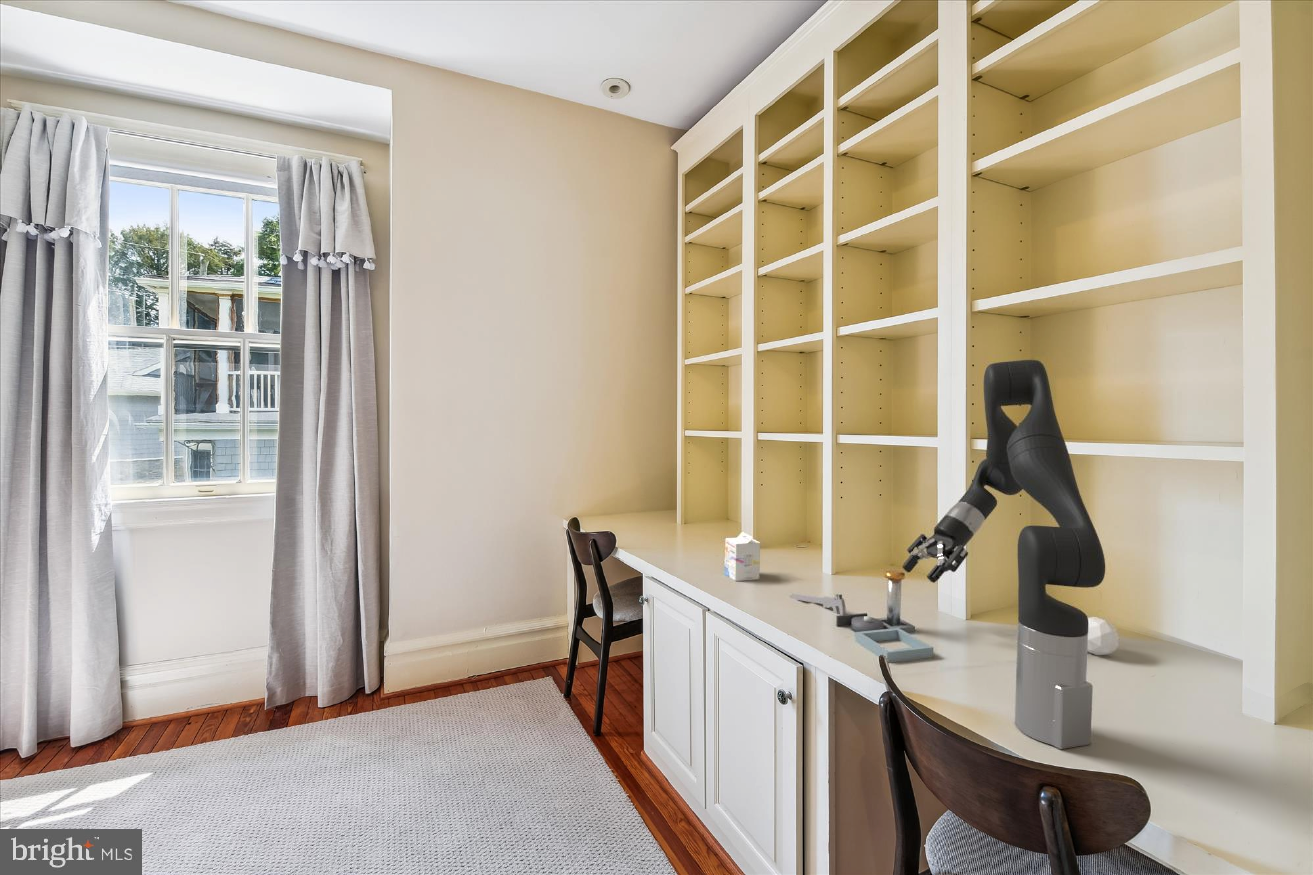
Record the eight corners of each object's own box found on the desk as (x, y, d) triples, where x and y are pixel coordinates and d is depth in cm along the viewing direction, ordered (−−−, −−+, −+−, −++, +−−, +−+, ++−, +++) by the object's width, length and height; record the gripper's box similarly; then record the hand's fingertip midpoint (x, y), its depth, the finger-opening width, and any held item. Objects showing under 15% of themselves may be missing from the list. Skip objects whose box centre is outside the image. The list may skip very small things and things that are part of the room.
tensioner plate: (919, 637, 130) (919, 620, 130) (857, 644, 126) (858, 626, 126) (893, 623, 139) (894, 607, 139) (835, 629, 135) (835, 612, 135)
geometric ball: (1103, 669, 120) (1110, 648, 116) (1063, 644, 126) (1068, 623, 122) (1123, 648, 123) (1131, 626, 118) (1083, 624, 129) (1089, 602, 124)
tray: (933, 661, 117) (933, 647, 117) (886, 667, 115) (887, 652, 115) (898, 640, 128) (898, 627, 128) (855, 645, 125) (855, 632, 125)
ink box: (723, 574, 181) (724, 532, 181) (747, 572, 184) (748, 530, 183) (735, 581, 173) (736, 538, 172) (760, 579, 175) (760, 536, 175)
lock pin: (907, 630, 132) (909, 574, 131) (891, 631, 131) (892, 576, 130) (895, 623, 136) (896, 569, 136) (879, 624, 135) (880, 570, 135)
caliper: (845, 620, 141) (846, 595, 141) (842, 621, 141) (842, 596, 141) (791, 596, 160) (792, 574, 159) (788, 597, 159) (789, 575, 159)
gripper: (929, 509, 143) (888, 557, 141) (973, 519, 129) (929, 572, 127) (946, 529, 144) (906, 576, 142) (992, 541, 131) (948, 594, 128)
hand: (917, 574), depth 134 cm, fingers open, 8 cm apart
